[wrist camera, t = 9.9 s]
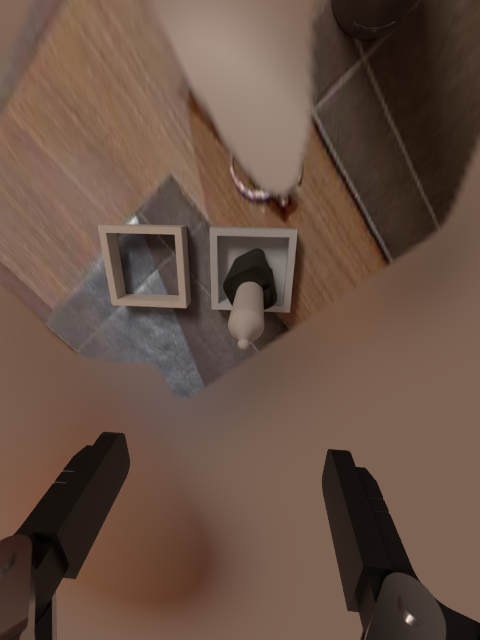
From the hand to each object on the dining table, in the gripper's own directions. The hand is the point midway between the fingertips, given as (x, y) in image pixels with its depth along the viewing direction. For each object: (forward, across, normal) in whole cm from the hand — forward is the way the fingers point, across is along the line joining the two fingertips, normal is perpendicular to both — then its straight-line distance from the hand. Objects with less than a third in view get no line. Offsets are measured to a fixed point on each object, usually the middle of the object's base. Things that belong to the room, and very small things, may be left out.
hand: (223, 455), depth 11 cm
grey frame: (+34, +16, 0) cm, 38 cm away
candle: (+34, 0, 0) cm, 34 cm away
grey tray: (+34, 0, 0) cm, 34 cm away
